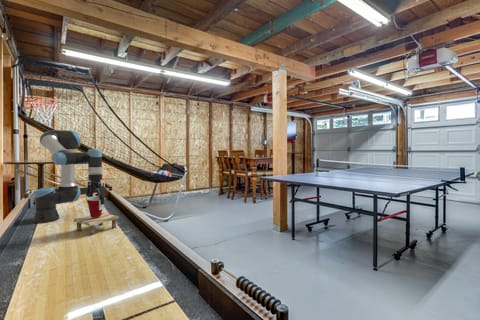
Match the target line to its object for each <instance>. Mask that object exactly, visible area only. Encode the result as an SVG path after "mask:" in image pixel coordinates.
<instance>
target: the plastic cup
mask: <svg viewBox="0 0 480 320" xmlns="http://www.w3.org/2000/svg"><path fill="white" fill-rule="evenodd" d="M99 199H100V198H99V195H97V196H93V197H88V196H86V198H85V200H86V202H87V205H88V206H87V207H88V211H89V216H91V217H100V216H101V214H102V213H103V210H99ZM106 199H107V197H106V198H105V199H104V201H105V200H106Z"/></svg>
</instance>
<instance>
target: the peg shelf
mask: <svg viewBox="0 0 480 320" xmlns="http://www.w3.org/2000/svg"><path fill="white" fill-rule="evenodd" d="M117 220H119V215H114V214H110V213H105V212H102V214H101V216H100V217H91V216H90V215H86V216H81V217H78V218H74V219H73V222H74V223H76V232H81V231H83V230H82V225H85V226H88V227H89V236H94V235H95V226H96V225H99V226H104V223H107V222H111V229H113V230H114V228H115V229H116V228H117Z"/></svg>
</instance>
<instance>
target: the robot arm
mask: <svg viewBox="0 0 480 320" xmlns="http://www.w3.org/2000/svg"><path fill="white" fill-rule="evenodd" d="M39 142H40V144H41V145H42V147H44V148H45V149H47V150H48V151H49V152H50V153H51V155H52V159H53V160H52V161H53V164H54V165H56V166H60V184H58V187H56V186H47V187H41V188H39V189H37V190H35V194H34V200H35V201H34V205H35V211H34V214H33V216H32V217H33V218H32V223H33V224H46V223H52V222H55V221H57V220H59V219H60V214H59V211H58V209H57V205H60V204H68V203H74V202H77V201H78V200H79V198H80V196H81V188H80V186H79V185H78V184H77V183H76V165H87V168H88V169H87V170H88V171H87V173H88V180H89V181H87V186H86V191H85V192H86V193H85V196H86V197H94V194H95V191H96V193H97V196H99V198H100V199H99V210H102V211H103V210H105V200H106V199H107V193H106V190H105V183H104V182H102V180H103V153H102V149H98V148H97V149H94V148H93V149H92V148H91V149H90V148H89V149H88V150H87V151H85V152H81V151H80V152H76V151H77V150H78V148H79V147H81V143H82V141H81V137H80V135H79V133H78V131H76V130H75V131H74V130H60V129H57V130H56V129H52V130H51V129H50V130H47V131H45V132H44V133H42V134H41V135H40V137H39ZM105 198H106V199H105ZM104 199H105V200H104Z"/></svg>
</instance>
